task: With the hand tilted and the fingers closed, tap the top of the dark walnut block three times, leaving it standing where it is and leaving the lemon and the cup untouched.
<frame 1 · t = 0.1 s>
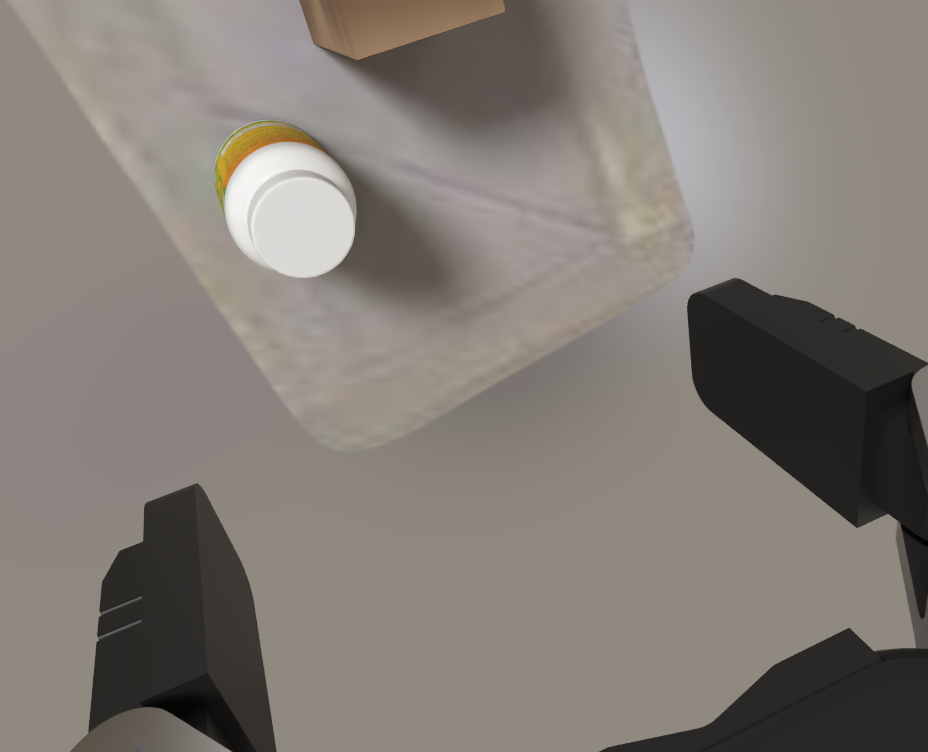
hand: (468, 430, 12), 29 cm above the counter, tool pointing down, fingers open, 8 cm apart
supplement bottle: (270, 175, 38), on the counter
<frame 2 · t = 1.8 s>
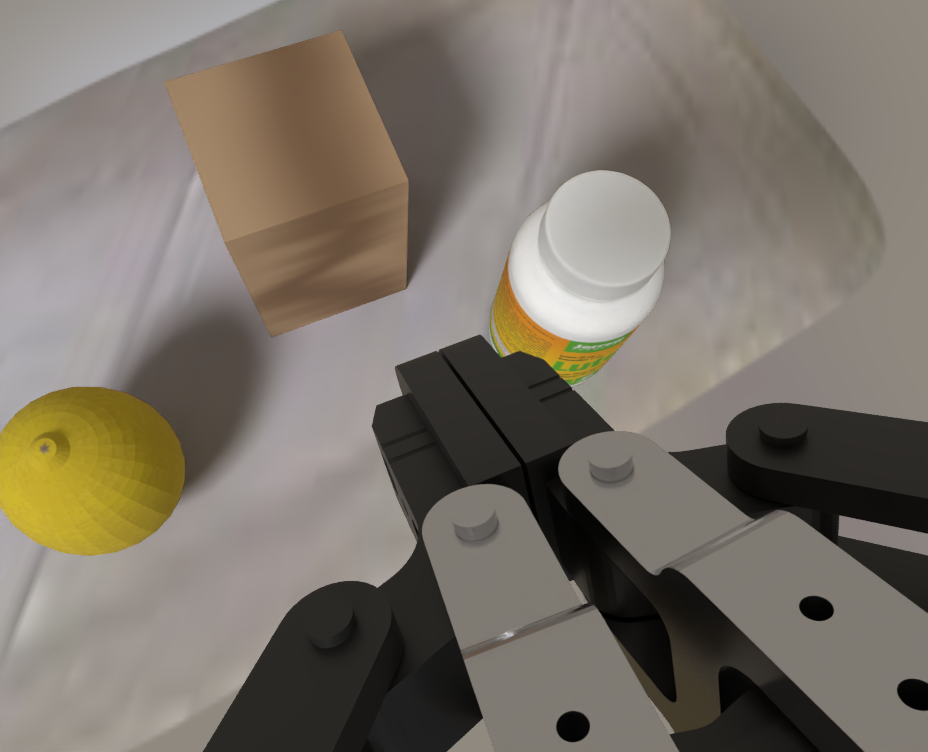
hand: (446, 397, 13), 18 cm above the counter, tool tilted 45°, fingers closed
lemon: (136, 487, 30), on the counter
walnut block: (315, 251, 33), on the counter
supplement bottle: (549, 332, 33), on the counter
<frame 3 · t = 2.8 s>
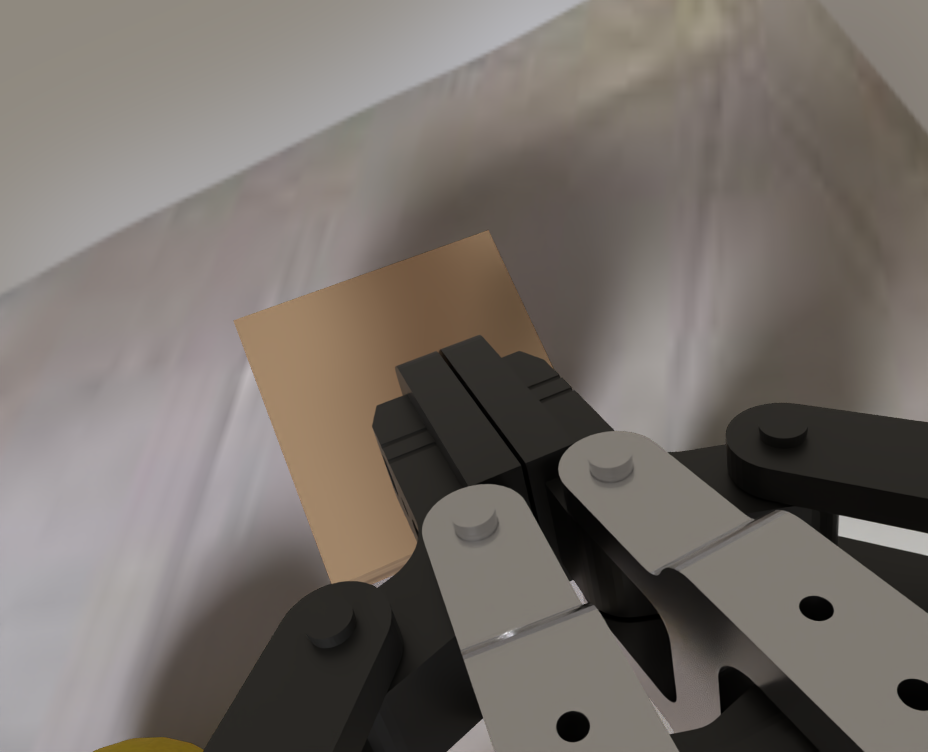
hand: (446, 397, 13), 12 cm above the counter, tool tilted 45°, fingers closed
walnut block: (409, 465, 25), on the counter
supplement bottle: (719, 570, 25), on the counter
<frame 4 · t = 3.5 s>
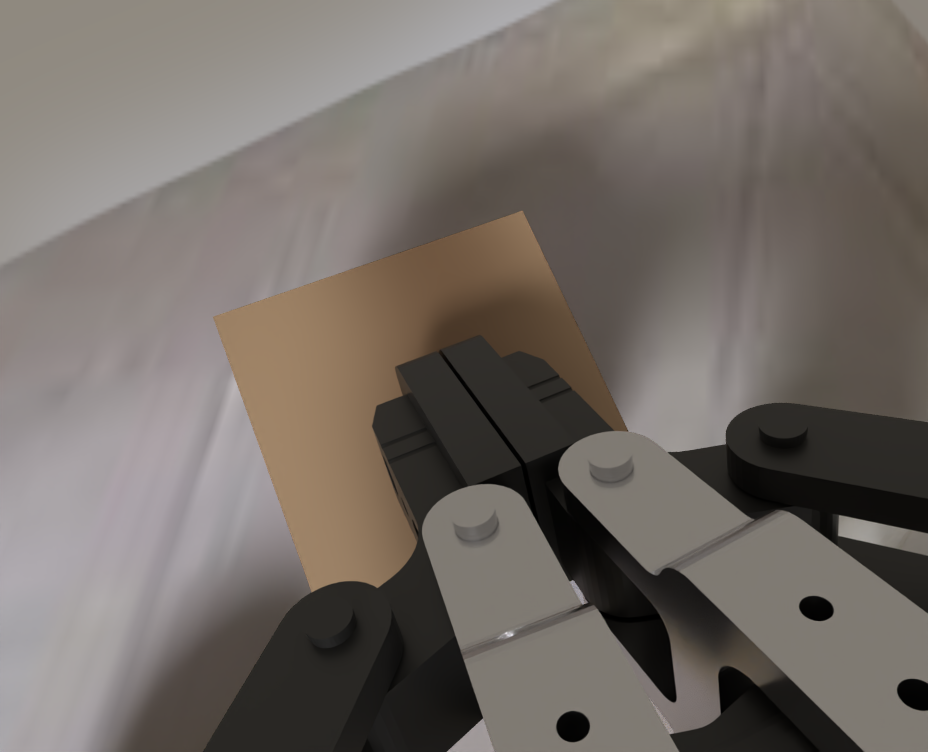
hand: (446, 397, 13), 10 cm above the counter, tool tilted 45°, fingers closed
walnut block: (419, 485, 22), on the counter, touching gripper
supplement bottle: (769, 607, 22), on the counter
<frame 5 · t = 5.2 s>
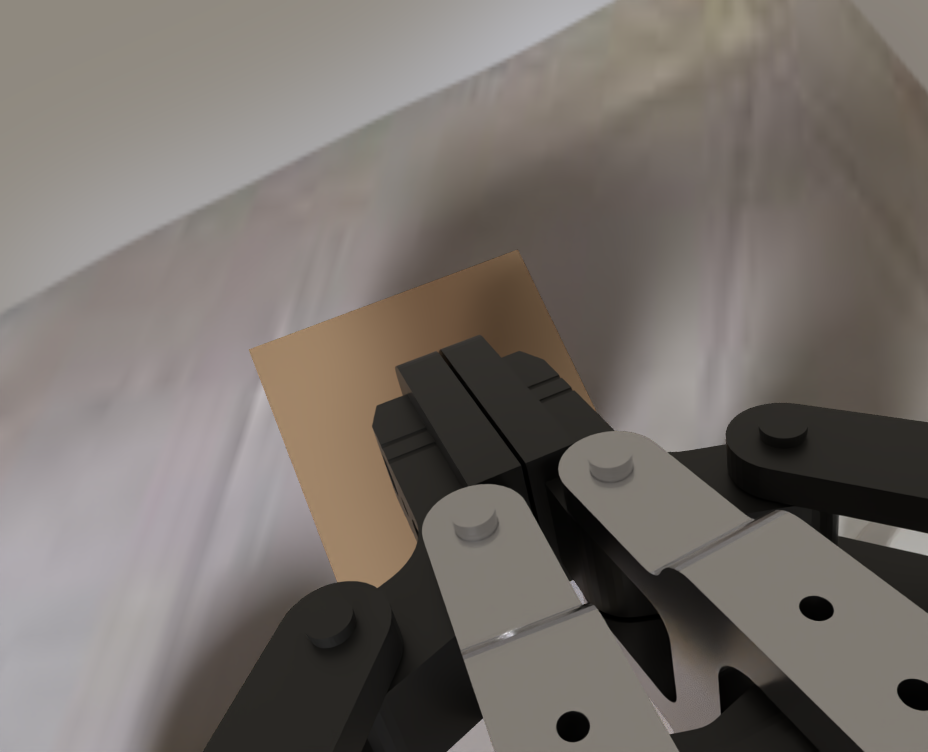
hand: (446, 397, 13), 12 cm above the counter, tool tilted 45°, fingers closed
walnut block: (429, 488, 24), on the counter
supplement bottle: (753, 600, 24), on the counter
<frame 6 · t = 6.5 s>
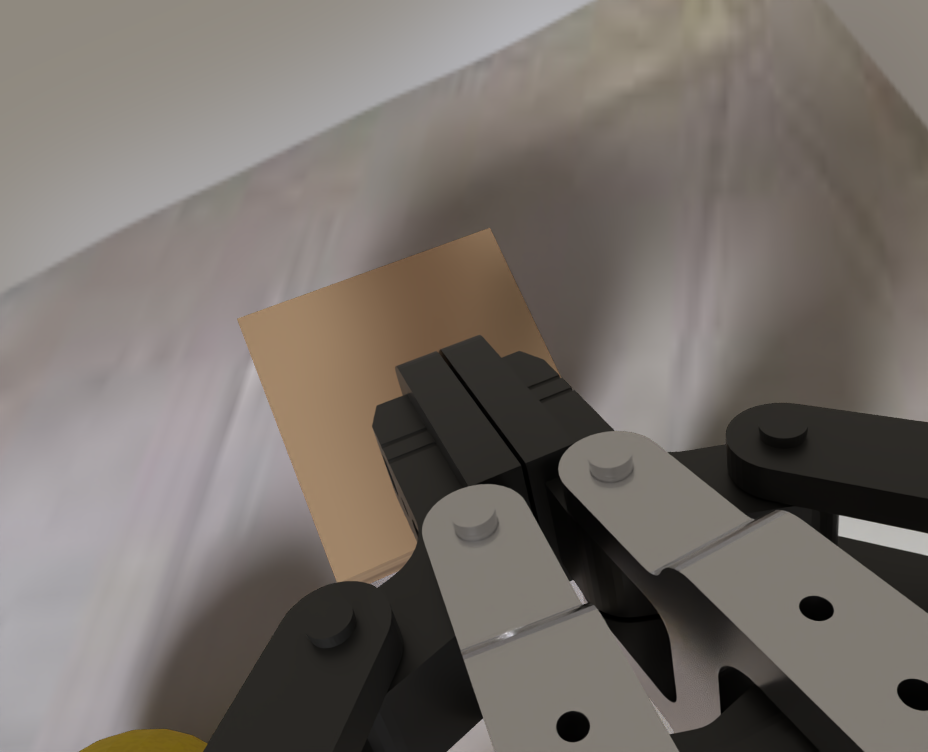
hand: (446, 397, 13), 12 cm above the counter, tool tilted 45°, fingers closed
walnut block: (412, 462, 25), on the counter
supplement bottle: (720, 570, 25), on the counter
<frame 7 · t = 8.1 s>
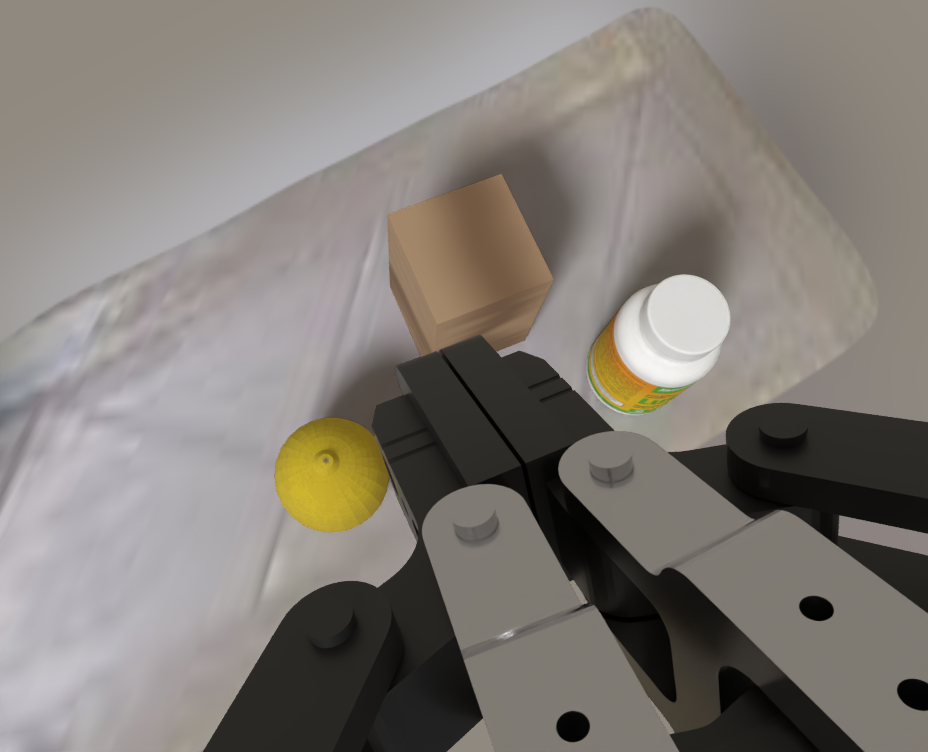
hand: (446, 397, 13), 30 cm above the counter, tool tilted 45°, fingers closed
lemon: (339, 486, 42), on the counter
walnut block: (457, 313, 45), on the counter
supplement bottle: (629, 373, 45), on the counter
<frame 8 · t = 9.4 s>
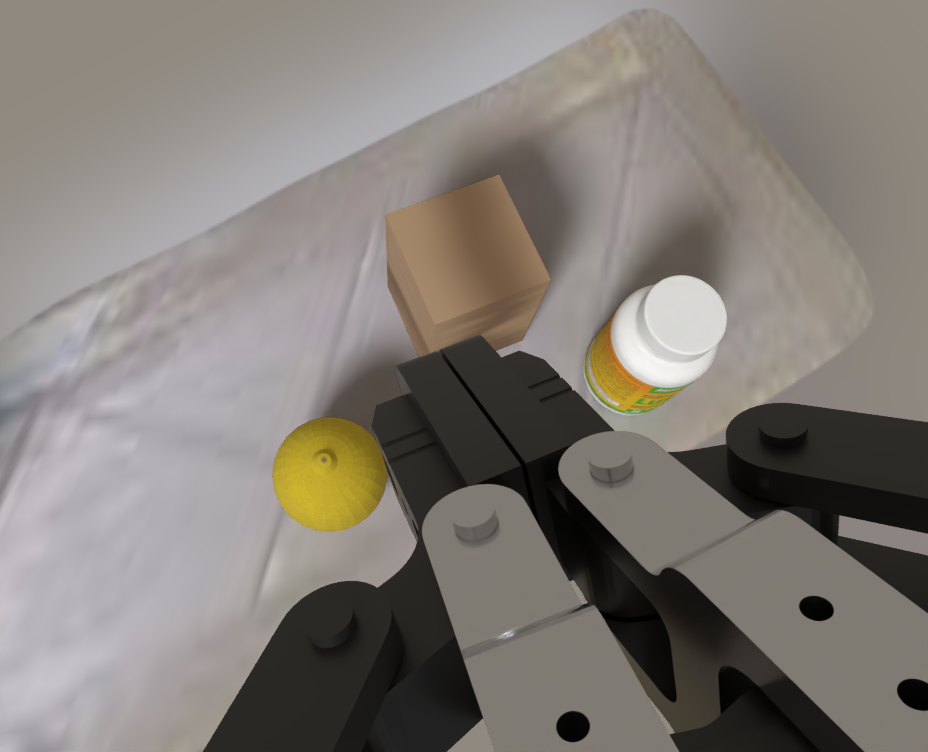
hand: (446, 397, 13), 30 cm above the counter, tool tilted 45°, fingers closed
lemon: (336, 485, 42), on the counter
walnut block: (454, 313, 45), on the counter
supplement bottle: (625, 373, 45), on the counter
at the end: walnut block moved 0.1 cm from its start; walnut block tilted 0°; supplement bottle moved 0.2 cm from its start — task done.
